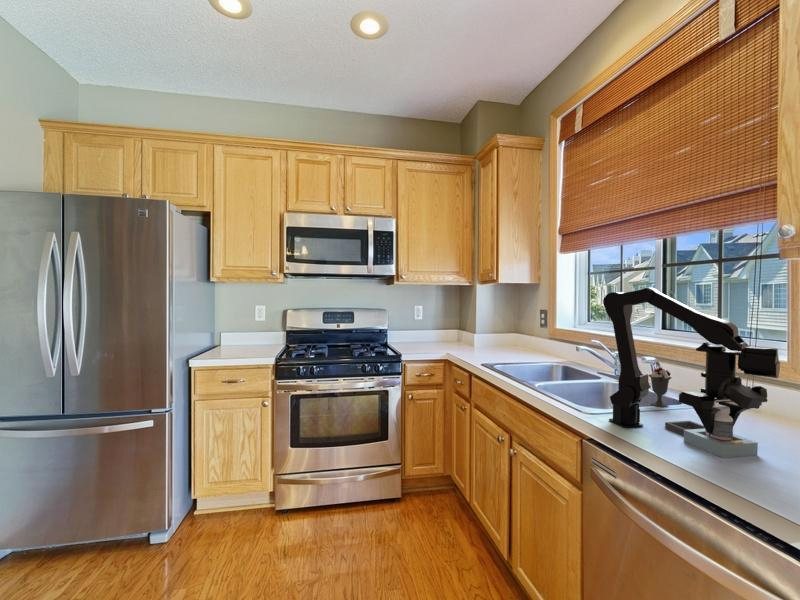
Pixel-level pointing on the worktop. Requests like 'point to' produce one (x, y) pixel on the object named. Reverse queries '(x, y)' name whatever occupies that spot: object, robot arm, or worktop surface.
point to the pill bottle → (722, 425)
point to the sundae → (660, 384)
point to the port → (721, 444)
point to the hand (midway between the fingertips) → (718, 432)
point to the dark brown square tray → (682, 426)
